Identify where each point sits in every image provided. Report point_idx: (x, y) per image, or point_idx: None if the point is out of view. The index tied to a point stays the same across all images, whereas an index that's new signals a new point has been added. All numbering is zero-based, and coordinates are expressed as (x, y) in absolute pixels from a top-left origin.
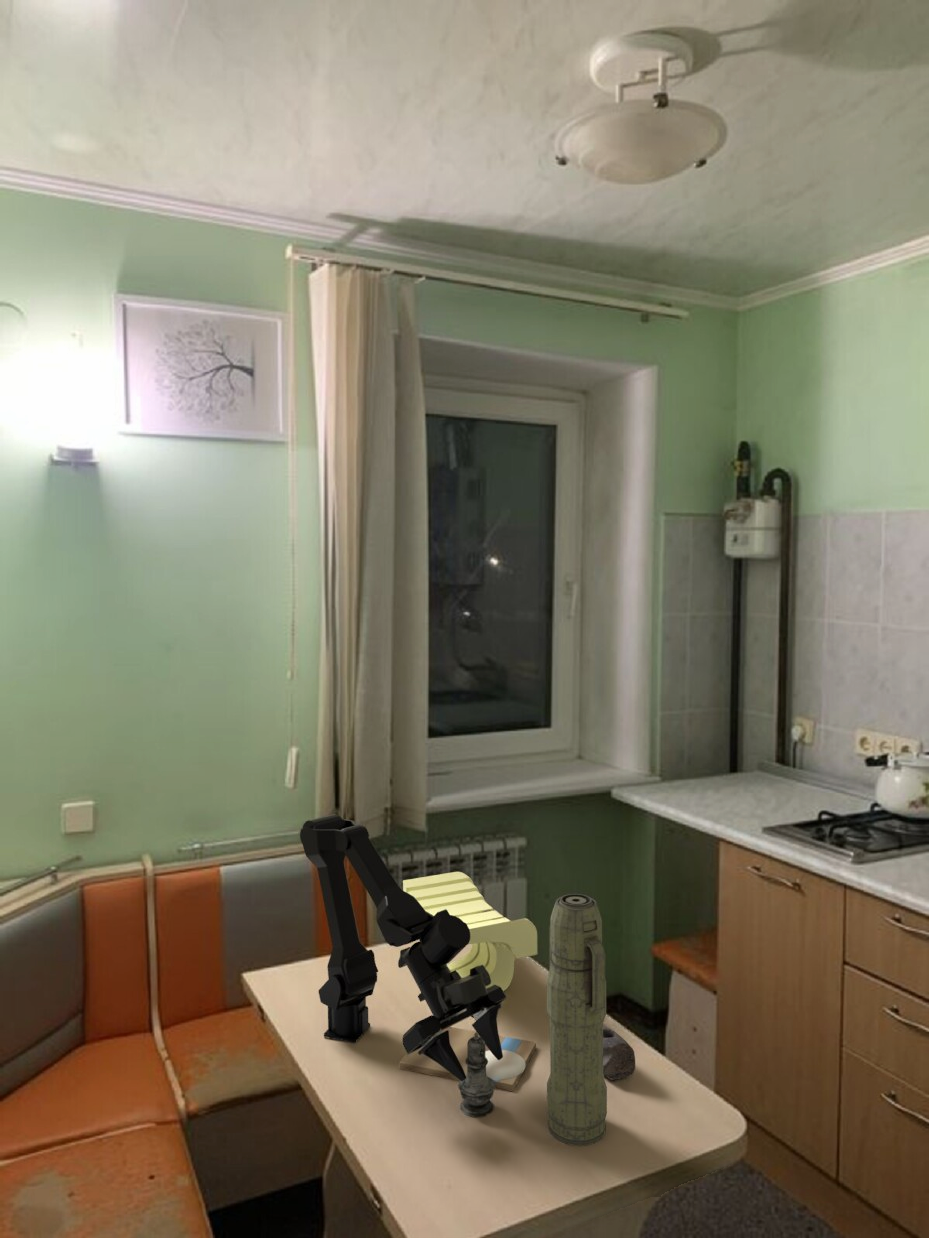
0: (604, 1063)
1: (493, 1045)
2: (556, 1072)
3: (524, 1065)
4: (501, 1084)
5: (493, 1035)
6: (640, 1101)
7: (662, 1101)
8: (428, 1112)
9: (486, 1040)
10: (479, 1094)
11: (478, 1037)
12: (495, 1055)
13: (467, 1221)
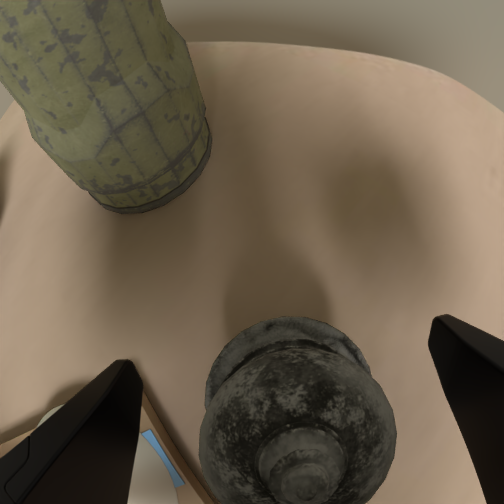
0: None
1: (110, 432)
2: (153, 9)
3: (46, 417)
4: (150, 415)
5: (64, 449)
6: (21, 163)
7: (11, 149)
8: (426, 448)
9: (112, 499)
10: (329, 330)
11: (276, 452)
12: (137, 407)
13: (481, 104)
